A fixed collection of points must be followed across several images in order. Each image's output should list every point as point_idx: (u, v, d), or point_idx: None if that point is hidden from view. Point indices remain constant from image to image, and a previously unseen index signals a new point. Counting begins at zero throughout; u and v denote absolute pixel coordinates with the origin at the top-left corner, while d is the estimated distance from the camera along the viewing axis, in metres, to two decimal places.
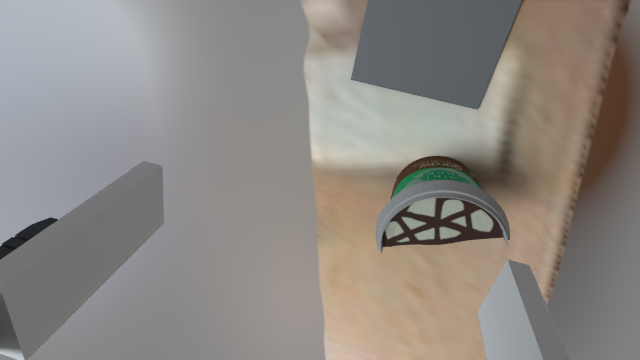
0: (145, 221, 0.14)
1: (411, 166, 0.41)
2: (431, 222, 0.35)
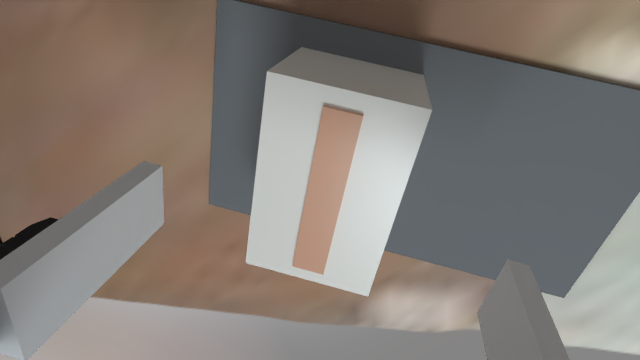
0: (145, 221, 0.14)
1: None
2: None
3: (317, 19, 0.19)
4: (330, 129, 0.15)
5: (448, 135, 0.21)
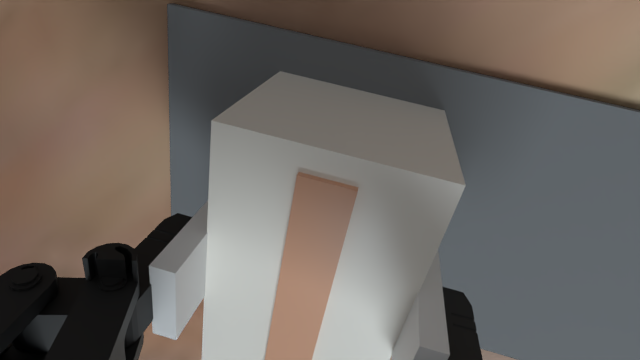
0: None
1: None
2: None
3: (300, 34, 0.14)
4: (308, 206, 0.10)
5: (476, 188, 0.15)
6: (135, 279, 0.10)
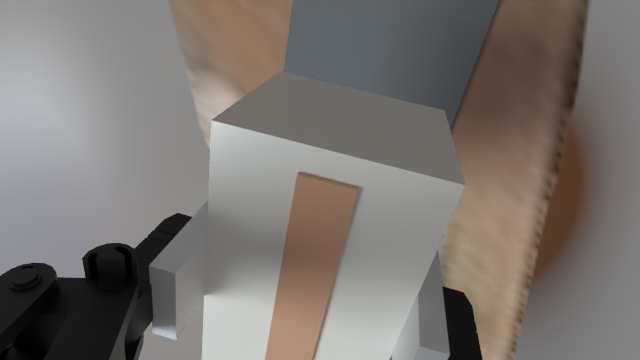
0: None
1: None
2: None
3: (484, 37, 0.25)
4: (308, 206, 0.10)
5: None
6: (135, 279, 0.10)
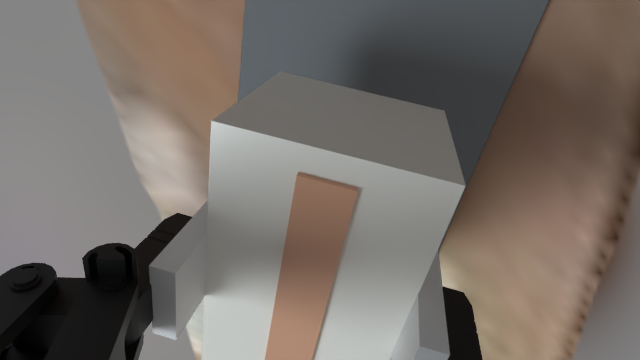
0: None
1: None
2: None
3: (522, 58, 0.17)
4: (308, 207, 0.10)
5: None
6: (135, 279, 0.10)
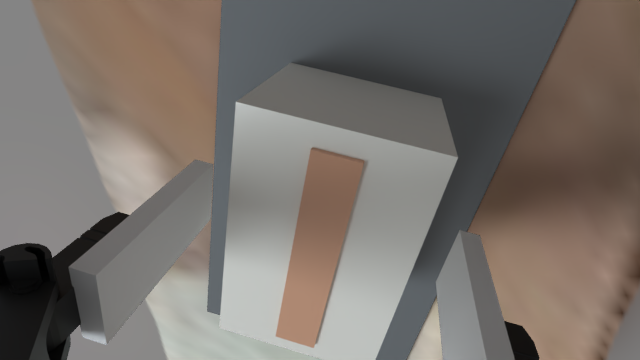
0: (197, 216, 0.15)
1: None
2: None
3: (538, 76, 0.15)
4: (320, 178, 0.11)
5: None
6: (52, 278, 0.09)
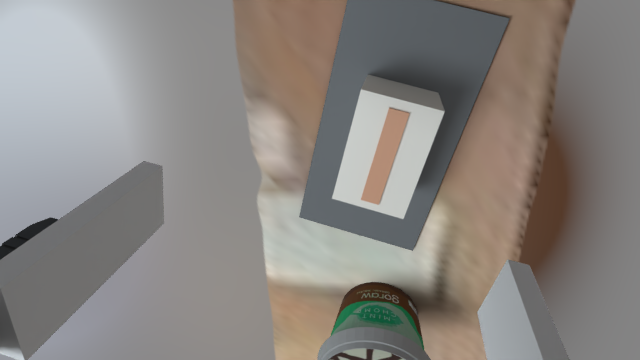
0: (145, 221, 0.14)
1: (355, 292, 0.45)
2: None
3: (481, 83, 0.33)
4: (391, 120, 0.29)
5: None
6: None
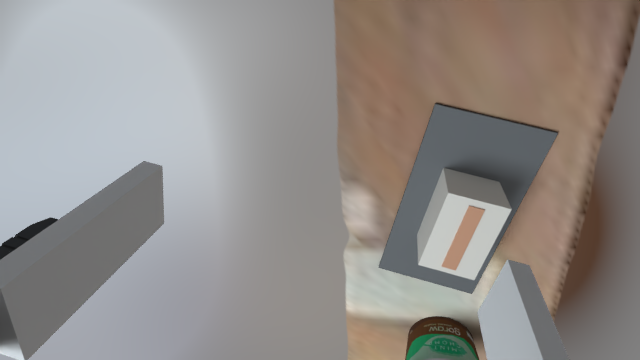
0: (145, 221, 0.14)
1: (422, 325, 0.55)
2: None
3: (534, 176, 0.42)
4: (470, 214, 0.39)
5: None
6: None
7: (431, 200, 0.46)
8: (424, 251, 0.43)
